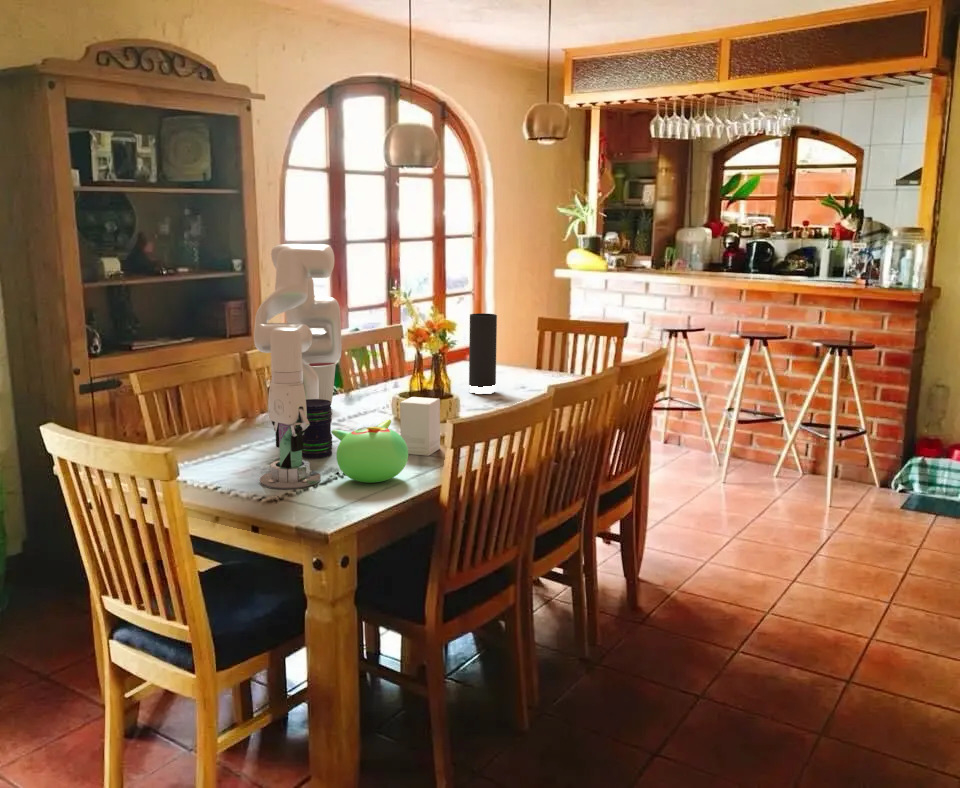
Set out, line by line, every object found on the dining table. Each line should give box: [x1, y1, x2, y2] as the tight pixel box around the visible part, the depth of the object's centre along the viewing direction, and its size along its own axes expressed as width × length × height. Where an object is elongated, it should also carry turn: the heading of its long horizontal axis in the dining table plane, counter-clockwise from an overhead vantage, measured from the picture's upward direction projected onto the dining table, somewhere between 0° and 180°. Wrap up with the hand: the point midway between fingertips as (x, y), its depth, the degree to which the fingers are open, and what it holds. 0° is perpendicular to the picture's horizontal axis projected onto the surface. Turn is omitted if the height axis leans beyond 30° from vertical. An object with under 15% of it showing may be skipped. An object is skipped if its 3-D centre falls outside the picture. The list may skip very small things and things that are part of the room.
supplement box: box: [399, 396, 441, 457], centre depth 249 cm, size 9×9×15 cm
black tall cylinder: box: [468, 313, 498, 387], centre depth 334 cm, size 10×10×30 cm
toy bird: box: [331, 419, 409, 484], centre depth 220 cm, size 18×17×15 cm
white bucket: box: [309, 361, 338, 404], centre depth 302 cm, size 18×18×21 cm
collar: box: [259, 459, 322, 490], centre depth 220 cm, size 15×15×4 cm
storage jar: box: [302, 399, 333, 460], centre depth 244 cm, size 10×10×15 cm
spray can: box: [279, 420, 303, 468], centre depth 219 cm, size 6×6×20 cm
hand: (289, 447), depth 219 cm, fingers closed on spray can, 5 cm apart
